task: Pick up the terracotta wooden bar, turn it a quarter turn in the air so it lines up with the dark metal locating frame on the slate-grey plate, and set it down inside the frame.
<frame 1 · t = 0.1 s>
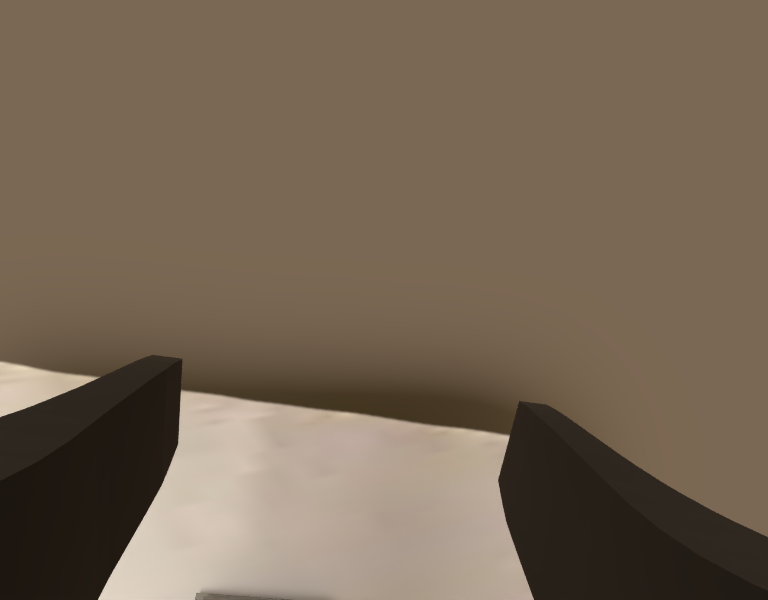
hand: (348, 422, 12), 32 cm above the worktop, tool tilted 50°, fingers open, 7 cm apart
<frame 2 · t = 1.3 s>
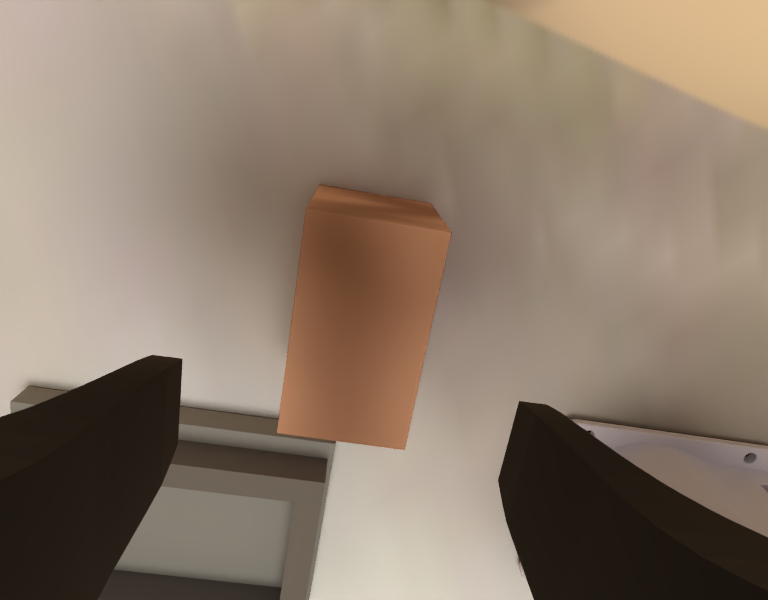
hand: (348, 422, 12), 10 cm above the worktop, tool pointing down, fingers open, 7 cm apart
terracotta bar: (360, 286, 21), on the worktop
nest plate: (179, 500, 24), on the worktop
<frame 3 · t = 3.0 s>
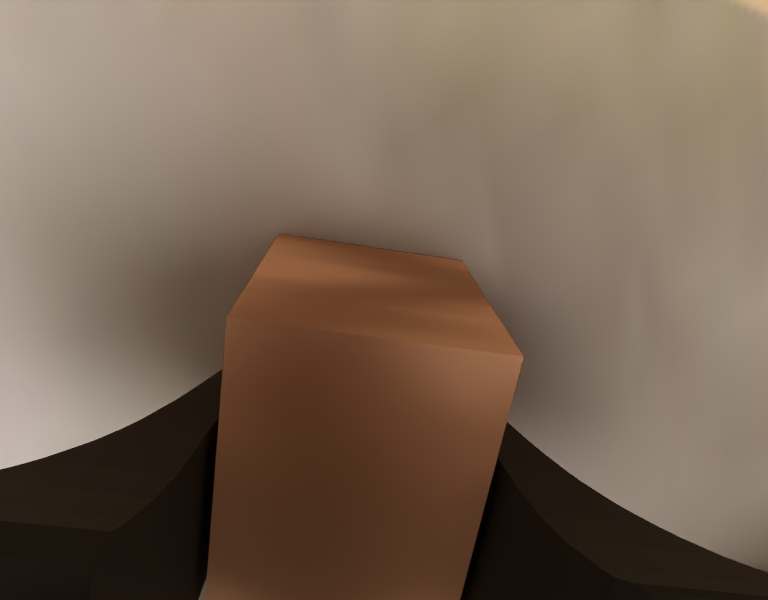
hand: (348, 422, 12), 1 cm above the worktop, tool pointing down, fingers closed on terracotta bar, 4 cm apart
terracotta bar: (349, 390, 13), on the worktop, touching gripper
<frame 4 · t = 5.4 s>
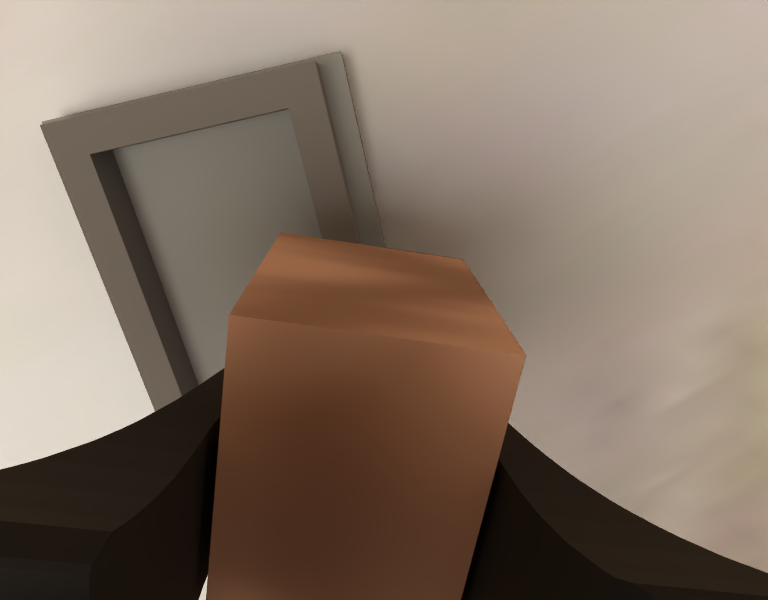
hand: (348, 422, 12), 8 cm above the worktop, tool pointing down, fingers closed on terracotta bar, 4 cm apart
terracotta bar: (350, 389, 13), point 7 cm above the worktop, touching gripper
nest plate: (256, 269, 20), on the worktop
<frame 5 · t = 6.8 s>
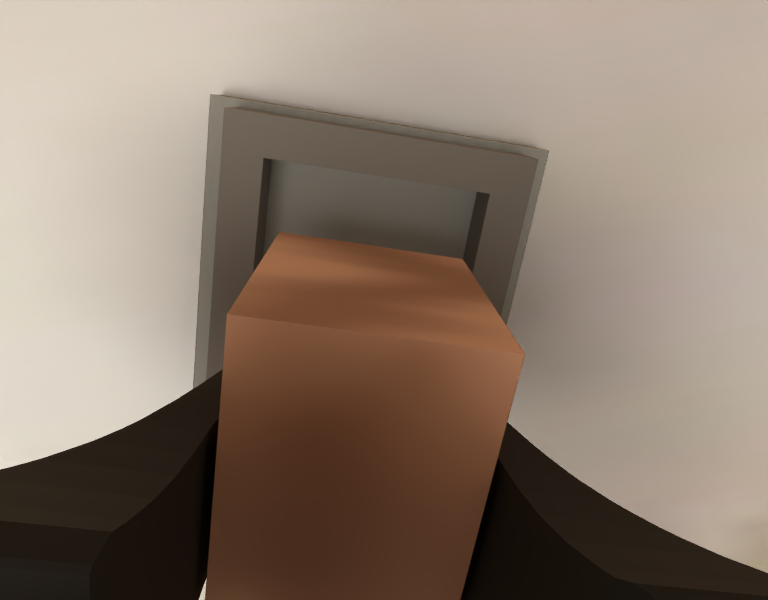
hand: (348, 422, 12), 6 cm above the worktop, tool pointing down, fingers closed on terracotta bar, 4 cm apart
terracotta bar: (349, 388, 13), point 5 cm above the worktop, touching gripper
nest plate: (352, 318, 18), on the worktop
when the fingers open (4 cm above the worktop, at t = 7.8 s): terracotta bar stays where it is, resting on nest plate.
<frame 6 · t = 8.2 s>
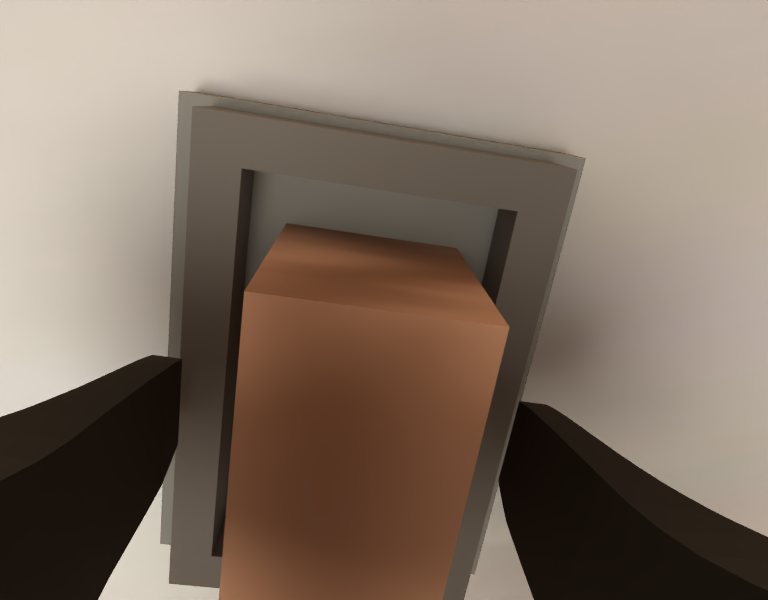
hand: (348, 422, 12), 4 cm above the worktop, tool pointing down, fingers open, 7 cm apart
terracotta bar: (352, 370, 14), point 1 cm above the worktop, touching nest plate
nest plate: (351, 351, 15), on the worktop
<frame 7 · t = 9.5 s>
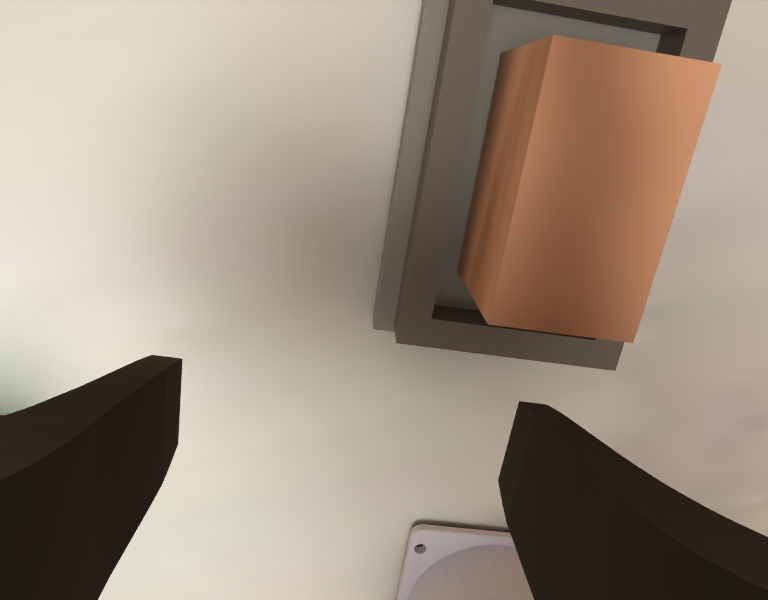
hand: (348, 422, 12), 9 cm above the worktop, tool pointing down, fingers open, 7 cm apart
terracotta bar: (536, 177, 19), point 1 cm above the worktop, touching nest plate
nest plate: (525, 174, 20), on the worktop
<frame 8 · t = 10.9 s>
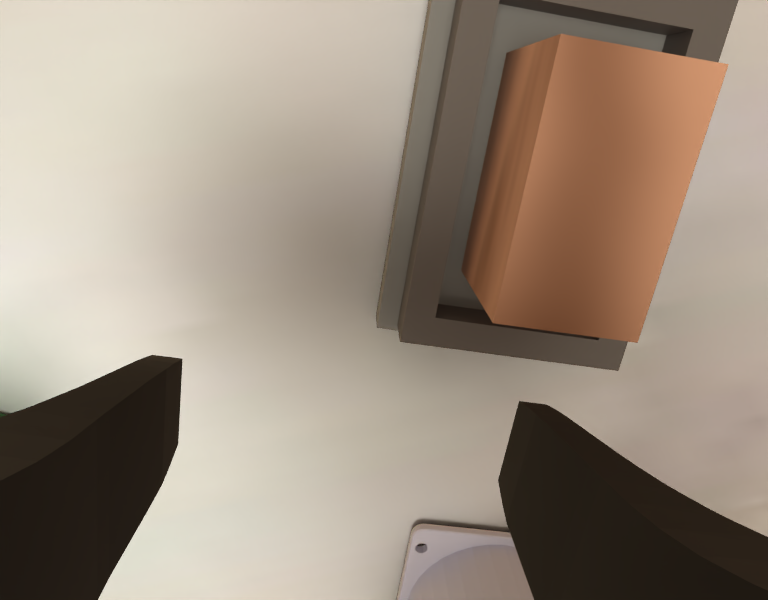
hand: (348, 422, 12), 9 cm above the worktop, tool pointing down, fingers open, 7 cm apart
terracotta bar: (541, 177, 19), point 1 cm above the worktop, touching nest plate
nest plate: (529, 173, 20), on the worktop
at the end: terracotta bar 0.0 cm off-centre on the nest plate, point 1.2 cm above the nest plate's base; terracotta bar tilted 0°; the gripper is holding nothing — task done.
